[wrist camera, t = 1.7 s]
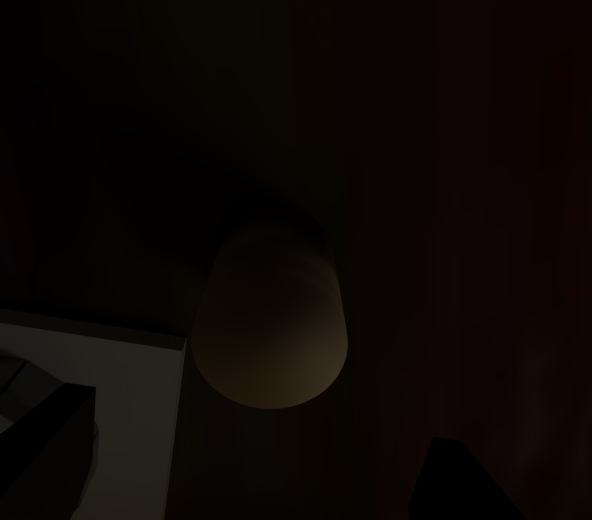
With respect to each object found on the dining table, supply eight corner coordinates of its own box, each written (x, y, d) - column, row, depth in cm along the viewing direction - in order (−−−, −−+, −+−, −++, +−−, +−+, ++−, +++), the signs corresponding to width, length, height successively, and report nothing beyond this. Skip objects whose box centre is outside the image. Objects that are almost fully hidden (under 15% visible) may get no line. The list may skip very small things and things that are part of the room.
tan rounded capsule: (344, 217, 20) (363, 289, 15) (320, 319, 22) (329, 418, 16) (226, 196, 20) (200, 262, 14) (212, 301, 22) (183, 396, 16)
